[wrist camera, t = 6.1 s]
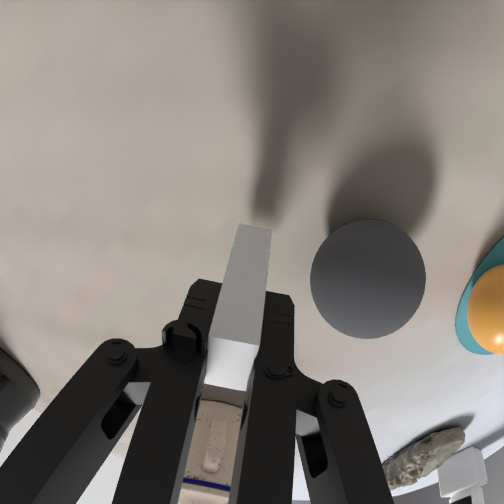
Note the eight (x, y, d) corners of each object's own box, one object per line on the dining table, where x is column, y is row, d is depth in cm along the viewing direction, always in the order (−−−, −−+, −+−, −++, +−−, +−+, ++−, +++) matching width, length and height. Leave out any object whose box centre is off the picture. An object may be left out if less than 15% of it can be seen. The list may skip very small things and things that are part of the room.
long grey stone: (330, 487, 50) (374, 482, 50) (331, 509, 45) (376, 503, 46) (419, 428, 28) (478, 417, 28) (426, 468, 24) (487, 451, 24)
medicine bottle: (448, 465, 39) (455, 519, 30) (435, 462, 37) (442, 522, 28) (481, 449, 36) (491, 505, 26) (472, 445, 34) (482, 507, 24)
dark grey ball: (399, 374, 13) (397, 302, 17) (456, 280, 10) (432, 219, 14) (287, 344, 14) (309, 277, 18) (316, 239, 11) (331, 189, 15)
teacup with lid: (252, 440, 32) (240, 531, 22) (174, 424, 32) (151, 513, 22) (280, 394, 25) (269, 523, 16) (174, 371, 25) (137, 498, 15)
